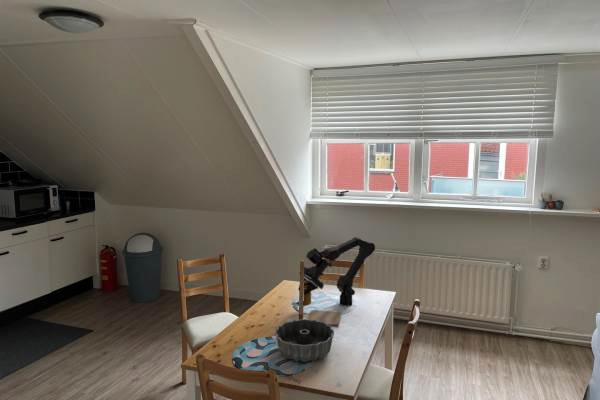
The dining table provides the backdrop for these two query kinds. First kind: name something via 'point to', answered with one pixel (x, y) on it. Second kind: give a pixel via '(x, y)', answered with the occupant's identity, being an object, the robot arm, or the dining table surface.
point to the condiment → (306, 296)
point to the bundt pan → (304, 339)
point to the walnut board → (326, 317)
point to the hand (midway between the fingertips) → (301, 292)
